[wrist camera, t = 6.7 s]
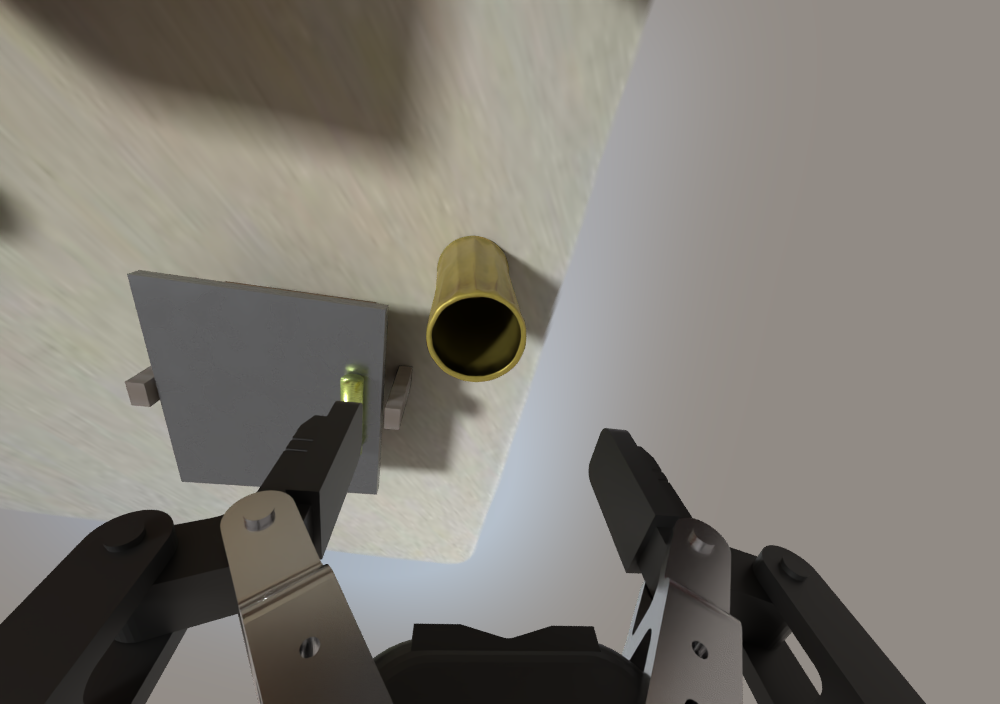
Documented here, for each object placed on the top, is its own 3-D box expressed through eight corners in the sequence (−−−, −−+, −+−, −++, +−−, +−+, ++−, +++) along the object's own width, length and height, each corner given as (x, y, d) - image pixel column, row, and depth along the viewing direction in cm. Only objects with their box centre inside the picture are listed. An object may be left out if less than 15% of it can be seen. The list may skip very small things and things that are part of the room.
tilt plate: (139, 270, 24) (105, 281, 22) (388, 305, 27) (380, 318, 25) (189, 472, 32) (168, 496, 30) (378, 485, 35) (372, 509, 32)
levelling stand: (177, 274, 30) (101, 302, 24) (417, 308, 33) (405, 340, 27) (204, 415, 36) (149, 467, 30) (406, 433, 39) (394, 484, 33)
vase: (423, 257, 31) (393, 318, 18) (487, 221, 30) (502, 259, 17) (460, 317, 34) (455, 407, 21) (520, 285, 33) (554, 359, 20)
